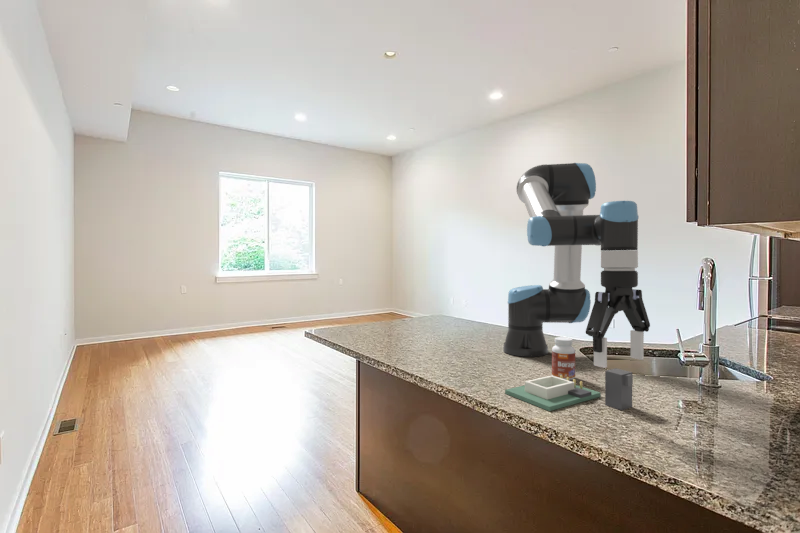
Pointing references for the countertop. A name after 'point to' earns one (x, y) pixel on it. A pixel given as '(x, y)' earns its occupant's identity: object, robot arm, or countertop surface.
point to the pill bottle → (563, 358)
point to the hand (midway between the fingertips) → (619, 362)
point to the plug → (618, 388)
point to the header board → (552, 392)
